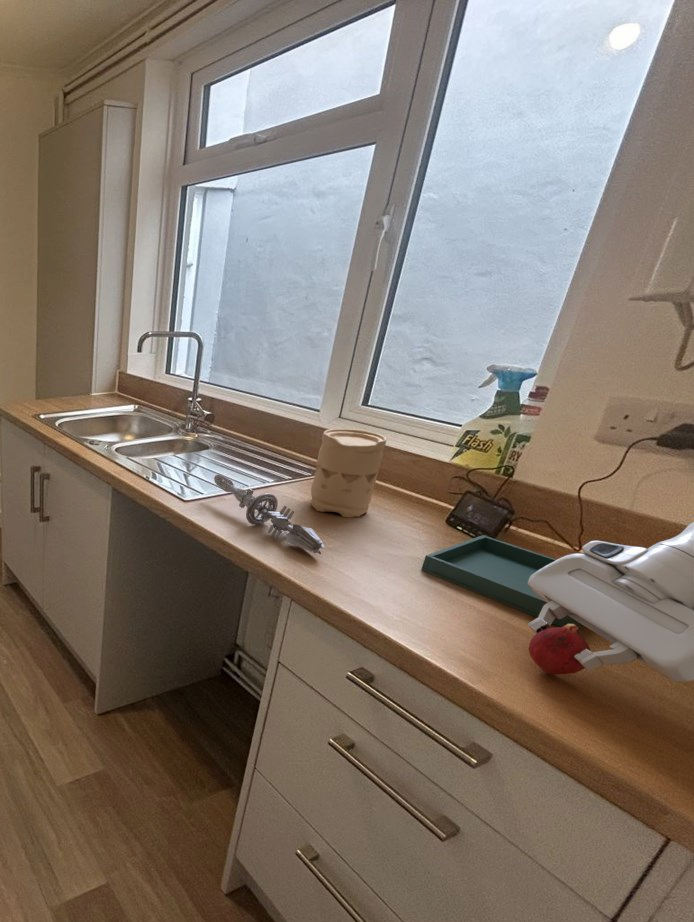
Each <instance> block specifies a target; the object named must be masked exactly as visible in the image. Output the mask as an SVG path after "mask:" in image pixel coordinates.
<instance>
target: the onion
mask: <svg viewBox="0 0 694 922" xmlns="http://www.w3.org/2000/svg"><path fill="white" fill-rule="evenodd" d="M578 631H579V627H577V626H576V625H575V624H567V625H565V626H563V627H551V628H549V629H545V630H543V631H540V632H538V633H537V634H536V633H535V634H534V635H533V636H532V637H531V640H530V641H529V644H528V653H529V655H530V658H531V659H532V661H533V662H534V664H535V665H536V666H538V667H539V669H541V671H543V672H545V673H546V674H548V675H552V676H555V675H570V674H576V673H579V672H581V671H583V670H584V669H585V668H584V667H582V666H581V665H580V664H578V663H577V662H576V660H575V659H574V658H573V657H574V655H576V654H578V653H581V651H583V650H585V649H587V650H589V651H590V652H592V651H591V647H590V645H589V643H588V642H587V641H586V639H585V638H584V637H583V636H582V635H581V634H579V633H578Z"/></svg>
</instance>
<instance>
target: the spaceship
mask: <svg viewBox="0 0 694 922" xmlns="http://www.w3.org/2000/svg"><path fill="white" fill-rule="evenodd" d="M213 481H214V483H215V484H216V486H217V487H219V488H220V489H221V490H222V491H224V492H225V493H231V494H232V495H233V496H234V497H235V499H236V500H237V501H238V502H239V503H238V506H239V508H241V509H245V507H246V512H245V516H246V517H245V518H246V520H247V522H248V523H249V524H250V525H254V526H259V525H263V524H265V523H266V524H268V525H269V526H270V527H269V529H268V530H267V534H270V536H271V537H274V539H275V540H276V539H278V538H279V537H280V536H281V534H285V533H286V534H285V538H286V542H287V544H289V545H293V546H296V547H298V548H301V549H304V550H306V551H309V552H311V553H313V554H319V555H321V554H322V552H321V551H320V549H322V550H323V549H325V548H326V546H325V544H324V543H323V541H322V539H321V537H319V536H318V534H317V533H316V531H314V529H313V528H311V527H305V526H302V525H301V524H299V523H297V522H296V521H294V520H293V519H292V517H293V515H294V514H295V511H294V510H292V509H291V508H290V507H288V506H287V505H284V506H283V507H282V508H281V509H280V510H279V511H277V509H278V506H279V505H278V504H279V502H278V498H277V496H276V495H275V494H273V493H269V492H266V493H262V494H259V495H257V496H255V495H253V494H254V490H253V489H252V488H247V490H245V489H242V488H238V487H237V486H236V485H235V483H234V481H232V480H231V479H230V478H228V477H227V476H225V475H223V474H216V475H215V476H214V477H213ZM267 504H268V505H267ZM269 520H270V522H271V523H272V524H271V523H269V522H268V521H269ZM289 520H290V521H293V522H294V523H293V524H292V523H291V522H290V521H289ZM295 523H296V524H295Z"/></svg>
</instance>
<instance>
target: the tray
mask: <svg viewBox="0 0 694 922" xmlns="http://www.w3.org/2000/svg"><path fill="white" fill-rule="evenodd" d="M556 560H558V558H554V557H552V556H548V555H546V554H542V553H539V552H537V551H533V550H531V549H526V548H524V547H521V546H518V545H515V544H511V543H509V542H505V541H502V540H500V539H496V538H493V537H490V536H487V535H484V534H483V535H479V536H476V537H474V538H470V539H468V540H465V541H463V542H460V543H457V544H454V545H451V546H449V547H445V548H442V549H440V550H437V551H434V552H431V553H429V554H426V555H425V557H424V560H423V563H422V566H421V571H423V572H426V573H427V574H429V575H432V576H435V577H438V578H440V579H443V580H445V581H447V582H449V583H453V584H454V585H458V586H460V587H462V588H463V589H464V588H465V589H467V590H469V591H472V592H474V593H477V594H478V595H482V596H484V597H487V598H488V599H491V600H493V601H495V602H498V603H501V604H503V605H506V606H508V607H511V608H513V609H515V610H518V611H521V612H523V613H526V614H528V615H530V616H533V617H535V618H536V619H537V618H538V616H539V614H540V612H541V610H542V608H543V606H544V605H545V604H547V602H546V601H544V600H542V599H541V598H539V597H538V596H537V595H536V594H535V593H534V592H533V591H532V589H531V588H530V587H529V585H528V580H529V578H530V576H531V575H532V574H533V573H535V572H536V571H538V570H540V569H541V568H543V567H545V566H546V565H548V564H550V563H552V562H554V561H556ZM567 624H575V625H576V626H577V627H578V628H579V627H581V626H583V625H582V624H581V623H579V622H577V621H576V620H574V619H573V618H571V617H569V616H568V615H567V616H565V617H563V618H562V619H558V618H557V617H555V619H554V621H553V622H552V624H551V625H555V626H557V627H558V628H560V627H563V626H565V625H567Z"/></svg>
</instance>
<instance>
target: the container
mask: <svg viewBox="0 0 694 922" xmlns="http://www.w3.org/2000/svg"><path fill="white" fill-rule="evenodd" d="M387 439H388V438H387V437H386V436H384V435H382V434H380V433H377V432H372V431H368V430H362V429H353V428H329V429H326V430H324V431H323V433H322V437H321V441H322V442H321V445H320V448H319V451H318V455H317V460H316V467H315V471H314V476H313V481H312V484H311V487H310V488H311V489H310V495H311V500H310V504H311V505H312V507H313V508H314V509H315V510H316V511H317V512H320V513H327V512H330V513H331V512H334V513H337V514H340V515H341V517H343V518H356V517H357V518H359V517H360V516H362V515H364V514H365V513H367V512H368V511H369V508H370V504H371V500H372V497H373V494H374V490H375V485H376V482H377V477H378V474H379V470H380V466H381V462H382V459H383V456H384V451H383V450H384V449H385V447H386V443H387Z"/></svg>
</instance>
